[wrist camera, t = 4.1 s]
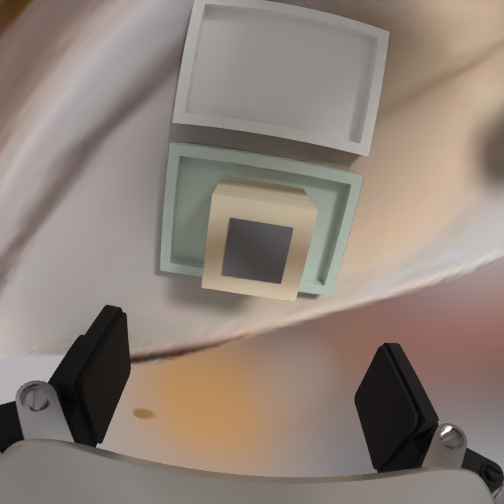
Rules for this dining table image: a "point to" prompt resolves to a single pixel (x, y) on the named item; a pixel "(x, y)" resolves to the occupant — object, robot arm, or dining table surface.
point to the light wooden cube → (258, 238)
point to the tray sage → (260, 169)
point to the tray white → (282, 73)
